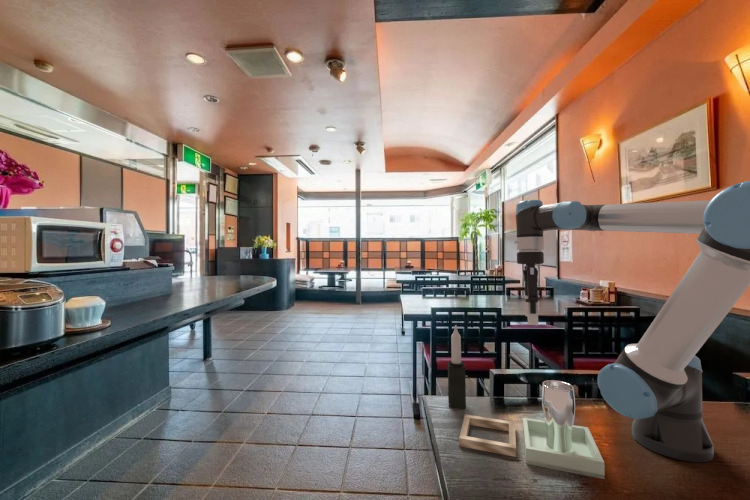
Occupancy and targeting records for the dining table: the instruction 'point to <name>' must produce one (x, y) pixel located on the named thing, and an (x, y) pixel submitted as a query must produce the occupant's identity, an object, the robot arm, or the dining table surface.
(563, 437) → the beer glass
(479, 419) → the light wood square frame
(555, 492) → the dining table surface
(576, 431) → the tray
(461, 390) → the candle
